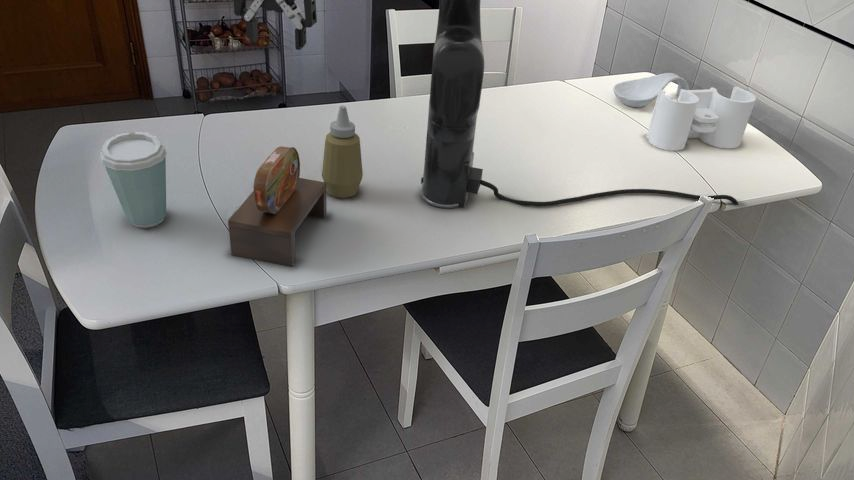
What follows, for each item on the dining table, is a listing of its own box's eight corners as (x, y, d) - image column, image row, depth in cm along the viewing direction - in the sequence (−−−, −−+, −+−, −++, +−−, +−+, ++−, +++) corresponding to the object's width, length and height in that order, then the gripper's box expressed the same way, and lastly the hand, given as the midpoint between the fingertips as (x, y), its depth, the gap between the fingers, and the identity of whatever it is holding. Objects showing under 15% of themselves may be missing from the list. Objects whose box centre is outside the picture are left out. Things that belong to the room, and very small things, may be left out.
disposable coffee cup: (176, 232, 131) (164, 156, 122) (110, 237, 128) (93, 159, 119) (176, 202, 139) (165, 128, 130) (114, 206, 136) (99, 131, 127)
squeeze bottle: (345, 206, 144) (346, 119, 133) (313, 192, 147) (311, 107, 136) (370, 190, 150) (373, 106, 139) (339, 177, 153) (339, 94, 142)
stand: (326, 214, 141) (326, 182, 137) (292, 266, 126) (290, 232, 122) (271, 204, 142) (269, 172, 138) (231, 254, 127) (227, 220, 123)
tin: (270, 223, 124) (267, 178, 119) (252, 219, 124) (248, 175, 119) (302, 182, 136) (300, 140, 131) (285, 178, 136) (284, 137, 131)
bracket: (661, 153, 177) (675, 105, 170) (641, 135, 184) (653, 88, 177) (748, 147, 184) (765, 101, 177) (725, 130, 192) (740, 86, 184)
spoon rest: (628, 114, 194) (635, 88, 190) (602, 97, 202) (608, 71, 198) (696, 105, 204) (704, 80, 200) (668, 89, 212) (675, 64, 208)
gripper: (221, -54, 120) (230, 45, 130) (305, -41, 119) (307, 58, 128) (241, -63, 126) (247, 32, 136) (321, -51, 125) (322, 44, 134)
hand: (276, 44), depth 132 cm, fingers open, 8 cm apart
